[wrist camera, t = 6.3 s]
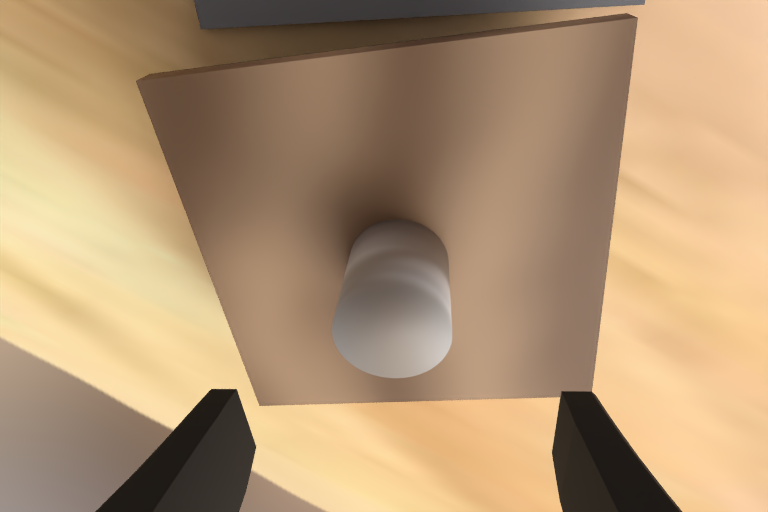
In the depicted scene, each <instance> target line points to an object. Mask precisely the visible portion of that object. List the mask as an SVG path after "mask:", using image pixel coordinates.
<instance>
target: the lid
mask: <svg viewBox="0 0 768 512" xmlns="http://www.w3.org/2000/svg"><path fill="white" fill-rule="evenodd" d="M637 20H638V18H637V17H635V16H632V15H630V14H627V13H625V14H617V15H609V16H602V17H594V18H586V19H578V20H570V21H562V22H554V23H547V24H539V25H531V26H523V27H515V28H507V29H499V30H492V31H484V32H476V33H468V34H460V35H452V36H445V37H437V38H429V39H421V40H413V41H405V42H397V43H390V44H382V45H374V46H366V47H358V48H350V49H342V50H335V51H327V52H319V53H311V54H303V55H295V56H288V57H280V58H272V59H264V60H256V61H248V62H240V63H233V64H225V65H217V66H209V67H201V68H193V69H185V70H178V71H170V72H162V73H154V74H149V75H147V76H145V77H143V78H141V79H139V80H137V81H136V82H137V85H138V88H139V90H140V93H141V96H142V98H143V101H144V103H145V106H146V109H147V111H148V114H149V117H150V119H151V122H152V124H153V127H154V130H155V132H156V135H157V138H158V140H159V143H160V145H161V148H162V151H163V153H164V156H165V159H166V161H167V164H168V166H169V169H170V172H171V174H172V177H173V180H174V182H175V185H176V187H177V190H178V193H179V195H180V198H181V201H182V203H183V206H184V209H185V211H186V214H187V216H188V219H189V222H190V224H191V227H192V230H193V232H194V235H195V237H196V240H197V243H198V245H199V248H200V251H201V253H202V256H203V258H204V261H205V264H206V266H207V269H208V272H209V274H210V277H211V279H212V282H213V285H214V287H215V290H216V293H217V295H218V298H219V300H220V303H221V306H222V308H223V311H224V314H225V316H226V319H227V321H228V324H229V327H230V329H231V332H232V335H233V337H234V340H235V342H236V345H237V348H238V350H239V353H240V356H241V358H242V361H243V363H244V366H245V369H246V371H247V374H248V377H249V379H250V382H251V384H252V387H253V390H254V392H255V395H256V398H257V400H258V403H259V405H260V406H270V405H305V404H339V403H374V402H408V401H443V400H478V399H512V398H547V397H561V391H591V392H592V386H593V378H594V370H595V362H596V353H597V345H598V337H599V329H600V321H601V313H602V305H603V296H604V288H605V280H606V272H607V264H608V256H609V248H610V239H611V231H612V223H613V215H614V207H615V199H616V191H617V182H618V174H619V166H620V158H621V150H622V142H623V134H624V125H625V117H626V109H627V101H628V93H629V85H630V77H631V68H632V60H633V52H634V44H635V36H636V28H637Z"/></svg>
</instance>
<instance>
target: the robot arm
mask: <svg viewBox="0 0 768 512" xmlns="http://www.w3.org/2000/svg"><path fill="white" fill-rule="evenodd" d="M255 449H256V445H255V442H254V439H253V436H252V433H251V430H250V427H249V424H248V421H247V418H246V415H245V412H244V409H243V407H242V404H241V401H240V398H239V395H238V392H237V389H211V390H210V391H209V392H208V393H207V394H206V395H205V396H204V398H203V399H202V400H201V401H200V402H199V403H198V404H197V405H196V406H195V407H194V408H193V410H192V411H191V412H190V413H189V414H188V415H187V416H186V417H185V419H184V420H183V421H182V422H181V423H180V424H179V425H178V426H177V427H176V428H175V430H174V431H173V432H172V433H171V434H170V435H169V437H167V438H166V440H165V441H164V442H163V443H162V444H161V445H160V446H159V447H158V448H157V450H155V451H154V452H153V453H152V455H151V456H150V457H149V458H148V459H147V460H146V461H145V462H144V463H143V464H142V465H141V466H140V467H139V469H138V470H137V471H136V472H135V473H134V474H133V475H132V476H131V477H130V478H129V479H128V480H127V481H126V482H125V483H124V484H123V485H122V486H121V487H120V488H119V489H118V490H117V491H116V492H115V493H114V494H113V495H112V496H111V497H110V498H109V499H108V500H107V501H106V502H105V503H104V504H103V505H102V506H101V507H100V508H99V509H98V510H96V512H239V510H240V507H241V504H242V501H243V498H244V495H245V492H246V489H247V484H248V480H249V476H250V472H251V468H252V463H253V459H254V454H255ZM552 455H553V462H554V468H555V474H556V480H557V486H558V492H559V498H560V503H561V506H562V510H563V512H682V511H681V510H680V508H679V507H678V506H677V505H676V504H675V502H674V501H673V500H672V499H671V497H670V496H669V495H668V494H667V493H666V491H665V490H664V489H663V487H662V486H661V485H660V484H659V482H658V481H657V480H656V479H655V477H654V476H653V475H652V473H651V472H650V471H649V470H648V468H647V467H646V466H645V465H644V463H643V462H642V461H641V459H640V458H639V457H638V455H637V454H636V453H635V451H634V450H633V448H632V447H631V446H630V444H629V443H628V442H627V440H626V439H625V437H624V436H623V435H622V433H621V432H620V430H619V429H618V428H617V426H616V425H615V423H614V422H613V420H612V419H611V418H610V416H609V415H608V413H607V412H606V410H605V409H604V407H603V406H602V404H601V403H600V401H599V400H598V398H597V397H596V395H595V394H594V393H593V392H591V391H561V398H560V404H559V411H558V417H557V424H556V430H555V437H554V443H553V450H552Z"/></svg>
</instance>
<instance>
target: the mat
mask: <svg viewBox="0 0 768 512" xmlns="http://www.w3.org/2000/svg"><path fill="white" fill-rule="evenodd" d="M194 2H195V6H196V10H197V15H198V19H199V23H200V27H201V29H215V28H233V27H251V26H269V25H287V24H305V23H322V22H340V21H358V20H376V19H394V18H412V17H430V16H447V15H465V14H483V13H501V12H519V11H537V10H554V9H572V8H590V7H608V6H626V5H644V3H645V0H194Z"/></svg>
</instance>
